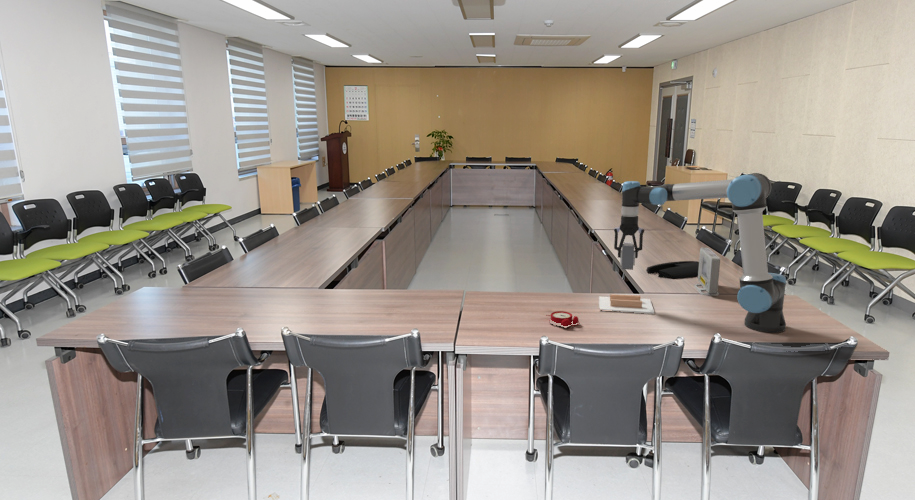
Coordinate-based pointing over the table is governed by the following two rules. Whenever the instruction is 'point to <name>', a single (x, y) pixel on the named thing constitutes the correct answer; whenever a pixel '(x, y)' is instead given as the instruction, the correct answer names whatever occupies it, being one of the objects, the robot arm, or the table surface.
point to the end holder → (626, 304)
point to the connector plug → (627, 256)
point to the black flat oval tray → (675, 269)
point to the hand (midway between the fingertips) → (627, 264)
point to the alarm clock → (563, 318)
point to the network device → (708, 272)
